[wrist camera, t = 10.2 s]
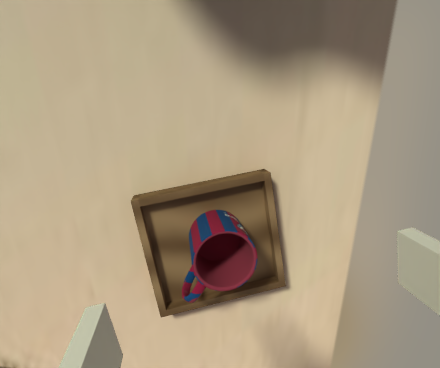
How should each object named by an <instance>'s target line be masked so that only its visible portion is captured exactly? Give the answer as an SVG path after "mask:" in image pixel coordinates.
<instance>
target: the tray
mask: <svg viewBox="0 0 440 368" xmlns="http://www.w3.org/2000/svg"><path fill="white" fill-rule="evenodd" d="M131 204H132V208H133V212H134V216H135V220H136V224H137V227H138V231H139V235H140V239H141V243H142V247H143V250H144V254H145V258H146V262H147V266H148V270H149V274H150V277H151V281H152V285H153V289H154V293H155V297H156V301H157V304H158V308H159V312H160V316H161V317H165V316H168V315H172V314H176V313H180V312H184V311H188V310H192V309H196V308H200V307H204V306H208V305H212V304H216V303H220V302H224V301H228V300H232V299H236V298H240V297H244V296H248V295H252V294H256V293H260V292H264V291H268V290H272V289H276V288H280V287H284V286H286V285H285V277H284V270H283V263H282V255H281V248H280V240H279V233H278V225H277V218H276V210H275V203H274V195H273V188H272V181H271V173H270V172H268V171H267V170H265V169H262V170H257V171H252V172H247V173H242V174H237V175H232V176H228V177H223V178H218V179H213V180H208V181H203V182H198V183H193V184H188V185H183V186H179V187H174V188H169V189H164V190H159V191H154V192H149V193H144V194H139V195H134V196H133V198H132V200H131ZM210 210H224V211H227V212H230V213H231V214H233V215H234V216H235V217H236V218H237V219H238V220H239V222H240V223H241V225H242V226H243V228H244V229H245V231H246V233H247V234H248V236H249V237H250V239H251V240H252V242H253V244H254V246H255V247H256V251H257V257H258V259H257V265H256V269H255V271H254V273H253V275H252V276H251V277H250V279H249V280H248V281H247V282H246V283H244V284H243V285H242V286H240V287H238V288H236V289H233V290H229V291H215V290H212V289H209V288H207V287H206V288H205V290H204V291H203V293H202V294H201V295H200V297H199V298H198V299H197V300H196V301H195V302H193V303H189V302H186V301H185V300H184V299H183V298H182V287H183V283H184V280H185V278H186V275H187V274H188V272H189V270H190V268H191V267H192V261H191V253H190V244H189V231H190V228H191V226H192V224H193V222H194V221H195V220H196V219H197V218H198V217H199V216H200V215H201V214H203V213H205V212H208V211H210ZM197 281H198V280H197V278H196V277H195V278H194V280H193V283H192V285H191V289H190V293H191V292H192V290H193V289H194V287H195V285H196V283H197Z"/></svg>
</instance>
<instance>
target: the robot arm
mask: <svg viewBox="0 0 440 368" xmlns="http://www.w3.org/2000/svg"><path fill="white" fill-rule="evenodd" d="M397 246H398V247H397V257H398V283H399V284H400V285H401V286H402V287H404V288H405V289H406V290H407V291H409V292H410V293H411V294H412V295H414V296H415V297H416V298H418V299H419V300H420V301H421V302H423V303H424V304H425V305H426V306H428V307H429V308H430V309H432V310H433V311H434V312H436V313H437V314H438V315H439V316H440V241H439V240H437V239H435V238H433V237H431V236H429V235H427V234H424V233H423V232H421V231H419V230H417V229H415V228H413V227H412V228H408V229H404V230H400V231H397ZM122 358H123V354H122V351H121V348H120V345H119V342H118V339H117V336H116V333H115V330H114V327H113V325H112V322H111V319H110V316H109V313H108V310H107V307H106V304H105V303H102V304H98V305H94V306H89V307H86V309H85V311H84V313H83V315H82V317H81V320H80V322H79V324H78V326H77V328H76V331H75V333H74V335H73V337H72V339H71V342H70V344H69V346H68V348H67V350H66V353H65V355H64V357H63V359H62V361H61V363H60V366H59V368H120V367H121V362H122Z"/></svg>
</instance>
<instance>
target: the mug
mask: <svg viewBox="0 0 440 368" xmlns="http://www.w3.org/2000/svg"><path fill="white" fill-rule="evenodd" d="M189 244H190V253H191V261H192V267H191V268H190V270H189V272H188V274H187V275H186V278H185V280H184V283H183V287H182V298H183V299H184V300H185V301H186V302H189V303H193V302H195V301H196V300H197V299H198V298H199V297H200V295H201V294H202V293H203V291H204V290H205V288H206V287H207V288H209V289H212V290H215V291H229V290H233V289H236V288H238V287H240V286H242V285H243V284H244V283H246V282H247V281H248V280H249V279H250V277H251V276H252V275H253V273H254V271H255V269H256V265H257V259H258V257H257V251H256V247H255V246H254V244H253V242H252V240H251V239H250V237H249V236H248V234H247V233H246V231H245V229H244V228H243V226H242V225H241V223H240V222H239V220H238V219H237V218H236V217H235V216H234V215H233V214H231V213H230V212H227V211H224V210H210V211H208V212H205V213H203V214H201V215H200V216H199V217H198V218H197V219H196V220H195V221H194V222H193V224H192V226H191V228H190V231H189ZM195 277H196V278H197V280H198V281H197V283H196V285H195V287H194V289H193V290H192V292H191V293H190V289H191V285H192V283H193V280H194V278H195Z"/></svg>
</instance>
